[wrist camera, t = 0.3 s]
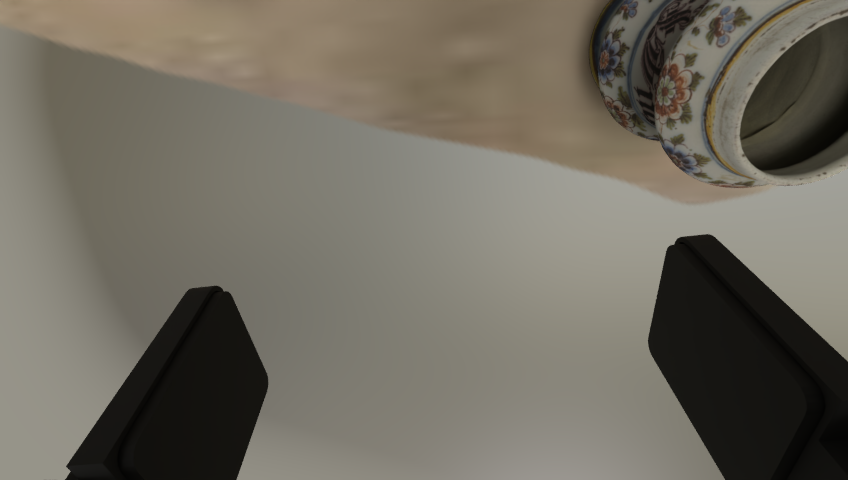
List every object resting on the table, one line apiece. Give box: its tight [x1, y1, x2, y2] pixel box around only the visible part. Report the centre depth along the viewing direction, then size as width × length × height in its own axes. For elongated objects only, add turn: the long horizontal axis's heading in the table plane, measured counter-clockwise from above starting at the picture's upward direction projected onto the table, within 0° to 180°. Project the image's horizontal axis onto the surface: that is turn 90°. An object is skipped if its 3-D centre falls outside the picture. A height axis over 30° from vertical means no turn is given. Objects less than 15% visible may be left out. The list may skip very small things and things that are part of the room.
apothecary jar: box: [589, 0, 848, 188], centre depth 28 cm, size 12×12×18 cm
